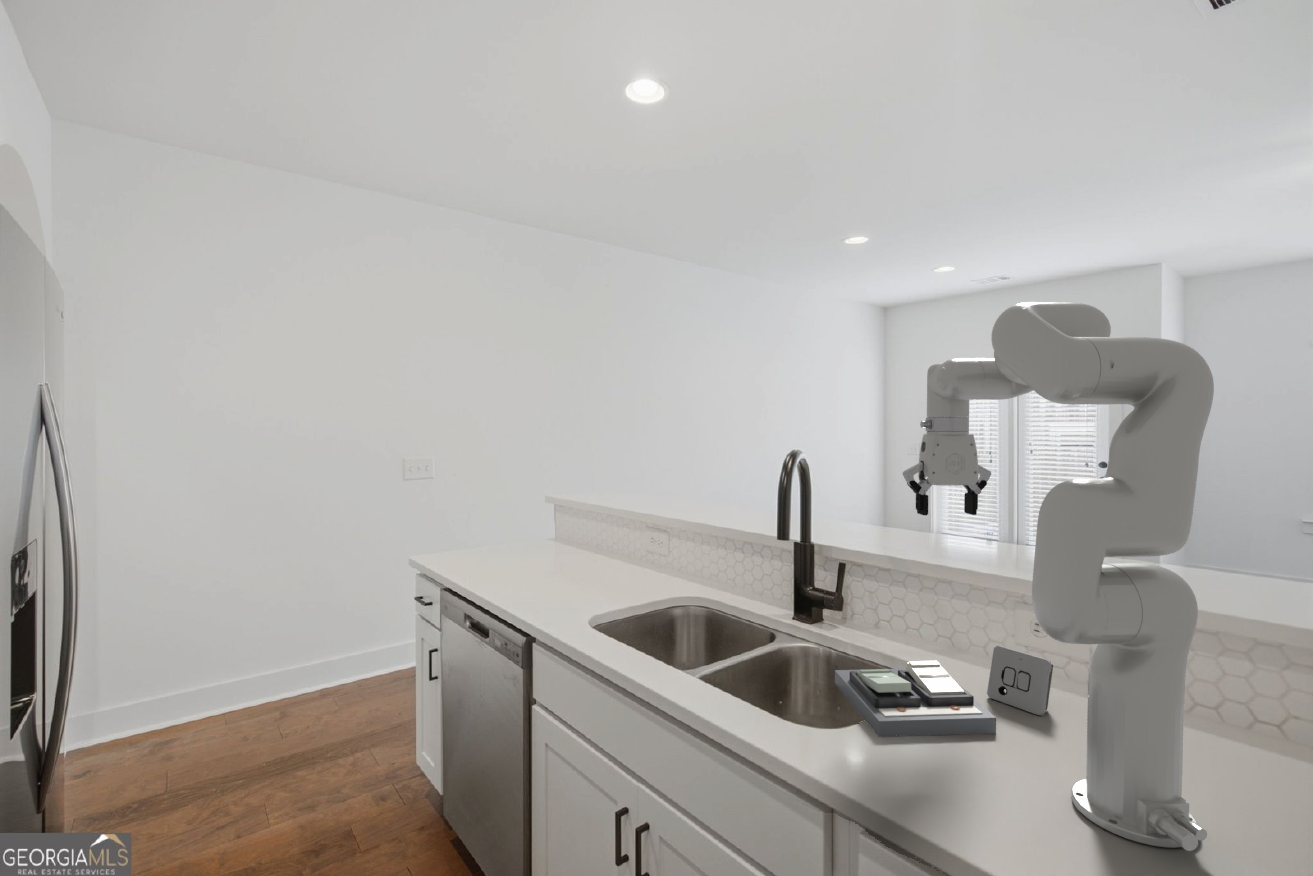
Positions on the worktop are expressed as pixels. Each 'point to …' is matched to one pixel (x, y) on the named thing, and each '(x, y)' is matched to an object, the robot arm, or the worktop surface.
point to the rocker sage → (884, 681)
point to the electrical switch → (1020, 680)
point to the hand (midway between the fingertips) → (946, 514)
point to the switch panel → (914, 709)
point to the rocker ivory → (933, 678)
